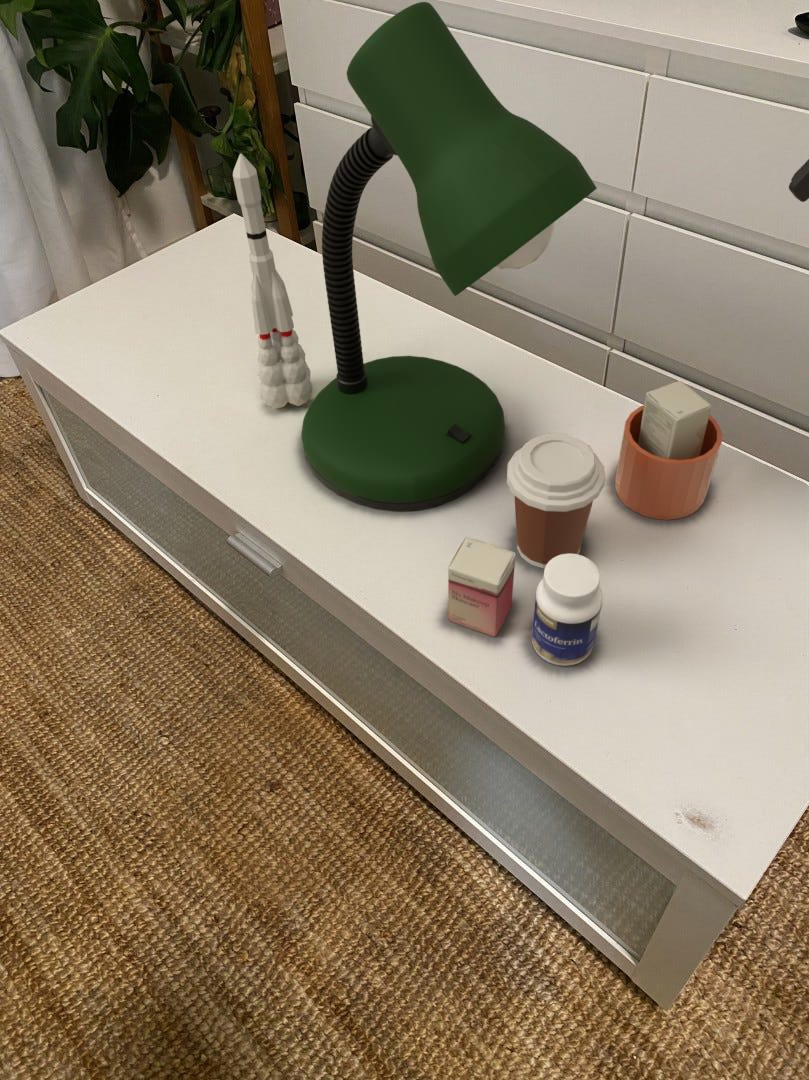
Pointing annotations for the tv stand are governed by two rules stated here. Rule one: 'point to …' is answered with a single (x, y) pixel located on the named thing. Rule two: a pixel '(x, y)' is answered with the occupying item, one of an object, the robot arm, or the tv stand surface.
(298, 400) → the rocket model
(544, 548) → the coffee cup
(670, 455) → the box
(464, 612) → the small box
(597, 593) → the pill bottle
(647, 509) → the terracotta plant pot
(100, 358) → the tv stand surface
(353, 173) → the desk lamp
